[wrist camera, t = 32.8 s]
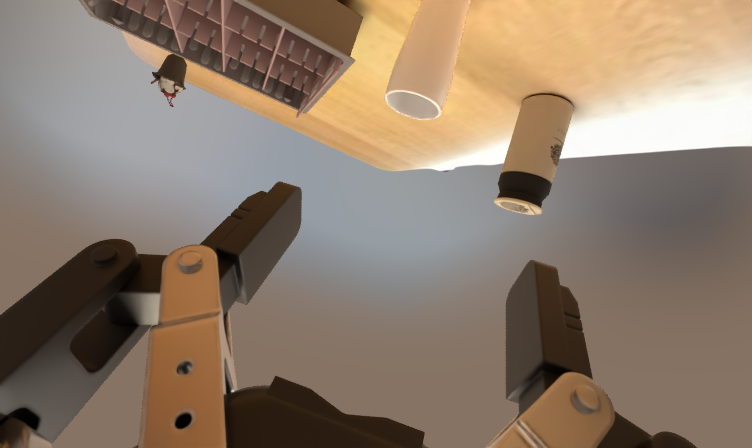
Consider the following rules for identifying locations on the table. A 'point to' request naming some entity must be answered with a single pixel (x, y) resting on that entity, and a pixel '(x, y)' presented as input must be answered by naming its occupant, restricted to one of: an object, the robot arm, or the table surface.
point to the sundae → (171, 76)
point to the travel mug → (534, 153)
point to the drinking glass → (427, 59)
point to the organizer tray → (248, 40)
